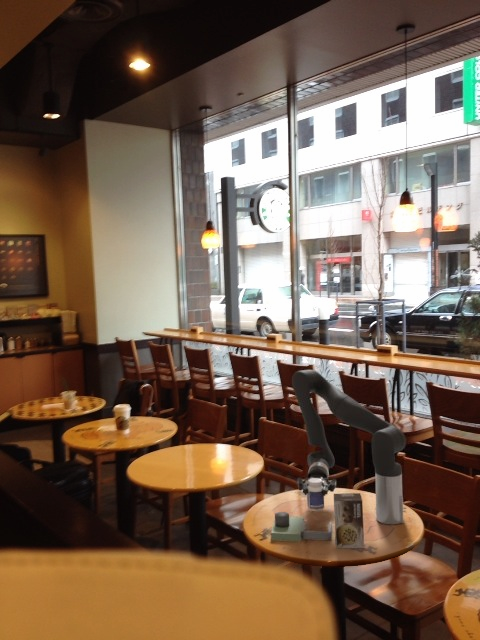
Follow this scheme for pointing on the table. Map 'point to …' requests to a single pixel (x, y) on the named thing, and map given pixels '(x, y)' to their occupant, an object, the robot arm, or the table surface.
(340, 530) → the coffee box
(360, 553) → the table surface
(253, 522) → the table surface
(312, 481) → the pill bottle
